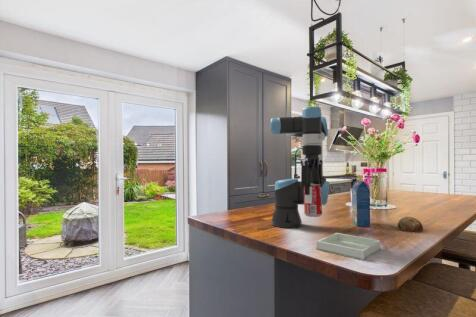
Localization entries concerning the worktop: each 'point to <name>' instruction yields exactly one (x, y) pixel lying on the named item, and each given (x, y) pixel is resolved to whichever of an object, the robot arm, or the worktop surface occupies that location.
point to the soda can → (314, 202)
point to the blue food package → (360, 203)
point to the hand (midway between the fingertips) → (312, 202)
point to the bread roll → (410, 225)
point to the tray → (348, 245)
